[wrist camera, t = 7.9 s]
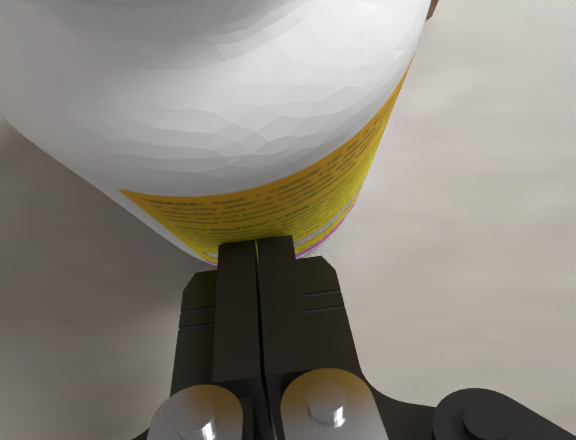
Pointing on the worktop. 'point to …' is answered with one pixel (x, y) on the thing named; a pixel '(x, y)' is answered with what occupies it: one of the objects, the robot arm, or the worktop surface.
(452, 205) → the worktop surface
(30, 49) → the supplement bottle
